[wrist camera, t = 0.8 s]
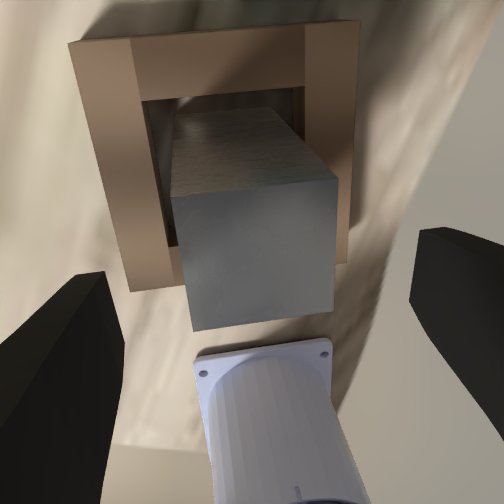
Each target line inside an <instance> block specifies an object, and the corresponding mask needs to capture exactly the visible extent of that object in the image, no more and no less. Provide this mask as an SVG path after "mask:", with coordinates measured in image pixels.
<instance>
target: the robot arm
mask: <svg viewBox="0 0 504 504" xmlns="http://www.w3.org/2000/svg"><path fill="white" fill-rule="evenodd" d="M409 302H410V304H411V306H412V308H413V310H414V312H415V314H416V316H417V318H418V320H419V321H420V323H421V325H422V327H423V328H424V330H425V332H426V334H427V336H428V337H429V338H430V340H431V341H432V343H433V344H434V345H435V347H436V348H437V349H438V351H439V352H440V354H441V355H442V356H443V358H444V359H445V360H446V362H447V363H448V365H449V366H450V367H451V369H452V370H453V371H454V373H455V374H456V375H457V376H458V378H459V379H460V380H461V382H462V383H463V385H464V386H465V387H466V388H467V390H468V391H469V393H470V394H471V395H472V397H473V398H474V399H475V400H476V402H477V403H478V404H479V406H480V407H481V409H482V410H483V411H484V412H485V414H486V415H487V417H488V418H489V420H490V421H491V422H492V424H493V425H494V427H495V428H496V430H497V431H498V433H499V434H500V436H501V437H502V439H503V441H504V246H503V245H500V244H497V243H495V242H492V241H489V240H486V239H483V238H480V237H478V236H475V235H472V234H469V233H466V232H462V231H459V230H455V229H452V228H447V227H440V228H432V229H424V230H420V233H419V238H418V245H417V252H416V258H415V265H414V271H413V278H412V285H411V291H410V298H409ZM124 349H125V342H124V338H123V335H122V331H121V328H120V324H119V320H118V317H117V313H116V310H115V306H114V303H113V299H112V296H111V292H110V288H109V285H108V281H107V278H106V274H105V271H101V272H93V273H86V274H78V275H75V276H74V277H73V278H71V279H70V280H69V281H68V282H67V283H66V284H65V285H63V286H62V287H61V288H60V289H59V290H58V291H57V292H56V293H55V294H54V295H53V296H52V297H51V298H50V299H49V300H48V301H47V302H46V303H45V304H44V305H43V306H41V307H40V308H39V309H38V310H37V311H36V312H35V313H34V314H33V315H32V316H31V317H30V318H29V319H28V320H27V321H26V322H24V323H23V324H22V325H21V326H20V327H19V328H18V329H17V330H16V331H15V332H14V333H13V334H11V335H10V336H9V337H8V338H7V339H6V340H5V341H3V342H2V343H1V344H0V504H100V499H101V493H102V487H103V481H104V476H105V471H106V466H107V460H108V455H109V450H110V445H111V440H112V435H113V430H114V425H115V420H116V415H117V410H118V404H119V399H120V394H121V388H122V382H123V368H124ZM324 351H326V352H325V353H323V354H321V353H322V352H324ZM332 353H333V345H332V343H331V340H330V339H328V338H318V339H311V340H305V341H298V342H291V343H285V344H278V345H272V346H265V347H259V348H252V349H245V350H239V351H232V352H226V353H219V354H213V355H206V356H200V357H197V358H196V359H195V360H194V361H193V369H194V375H195V380H196V386H197V391H198V397H199V402H200V408H201V413H202V419H203V424H204V430H205V435H206V441H207V446H208V452H209V457H210V463H211V464H212V476H213V490H214V504H371V502H370V499H369V496H368V494H367V491H366V489H365V486H364V484H363V481H362V479H361V476H360V474H359V471H358V468H357V466H356V463H355V461H354V458H353V456H352V453H351V450H350V448H349V445H348V443H347V440H346V438H345V435H344V433H343V430H342V427H341V425H340V423H339V420H338V417H337V415H336V412H335V410H334V407H333V404H332V402H331V377H332ZM202 370H205V372H200V371H202Z"/></svg>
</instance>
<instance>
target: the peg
mask: <svg viewBox="0 0 504 504" xmlns="http://www.w3.org/2000/svg"><path fill="white" fill-rule="evenodd" d="M338 185H339V178H338V177H337V176H336V175H335V174H334V173H333V172H332V171H331V170H330V169H329V167H328V166H327V165H326V164H325V163H324V162H323V161H322V160H321V159H320V158H319V157H318V156H317V155H316V154H315V153H314V152H313V151H312V150H311V149H310V148H309V147H308V146H307V145H306V143H305V142H304V141H303V140H302V139H301V138H300V137H299V136H298V135H297V134H296V133H295V132H294V131H293V130H292V129H291V128H290V127H289V126H288V125H287V124H286V123H285V122H284V121H283V120H282V118H281V117H280V116H279V115H278V114H277V113H276V112H275V111H274V110H273V109H272V108H271V107H270V106H264V107H254V108H243V109H233V110H223V111H212V112H202V113H192V114H181V115H174V126H173V149H172V171H171V194H170V199H171V204H172V210H173V216H174V222H175V228H176V234H177V240H178V245H179V251H180V257H181V263H182V269H183V275H184V280H185V286H186V292H187V298H188V304H189V310H190V315H191V321H192V327H193V332H195V331H202V330H209V329H216V328H223V327H230V326H236V325H243V324H250V323H257V322H264V321H271V320H277V319H284V318H291V317H298V316H305V315H311V314H318V313H325V312H332V311H333V308H334V283H335V259H336V234H337V210H338Z"/></svg>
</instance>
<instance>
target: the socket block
mask: <svg viewBox="0 0 504 504" xmlns="http://www.w3.org/2000/svg"><path fill="white" fill-rule="evenodd" d="M359 38H360V20H330V21H317V22H304V23H291V24H278V25H266V26H253V27H240V28H227V29H214V30H201V31H188V32H175V33H163V34H150V35H137V36H124V37H111V38H98V39H85V40H78V41H74V42H71V43H67V44H68V48H69V52H70V56H71V60H72V63H73V67H74V71H75V75H76V79H77V83H78V87H79V91H80V95H81V99H82V103H83V107H84V111H85V115H86V119H87V123H88V127H89V131H90V135H91V139H92V143H93V147H94V151H95V155H96V159H97V163H98V167H99V171H100V175H101V179H102V183H103V187H104V190H105V194H106V198H107V202H108V206H109V210H110V214H111V218H112V222H113V226H114V230H115V234H116V238H117V242H118V246H119V250H120V254H121V258H122V262H123V266H124V270H125V274H126V278H127V282H128V286H129V290H130V292H136V291H143V290H151V289H158V288H166V287H173V286H180V285H185V280H184V275H183V269H182V263H181V257H180V251H179V245H178V240H177V234H176V228H175V226H174V227H169V224H168V219H167V213H166V208H165V202H164V197H163V191H162V185H161V180H160V174H159V169H158V163H157V158H156V152H155V146H154V141H153V135H152V130H151V124H150V118H149V113H148V107H147V102H146V101H148V100H159V99H170V98H181V97H191V96H202V95H213V94H224V93H235V92H245V91H256V90H267V89H278V88H289V87H293V131H294V132H295V133H296V134H297V135H298V136H299V137H300V138H301V139H302V140H303V141H304V142H305V143H306V145H307V146H308V147H309V148H310V149H311V150H312V151H313V152H314V153H315V154H316V155H317V156H318V157H319V158H320V159H321V160H322V161H323V162H324V163H325V164H326V165H327V166H328V167H329V169H330V170H331V171H332V172H333V173H334V174H335V175H336V176H337V177H338V178H339V185H338V210H337V234H336V259H335V264H343V263H347V251H348V233H349V215H350V198H351V180H352V162H353V144H354V127H355V109H356V91H357V74H358V56H359Z"/></svg>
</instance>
